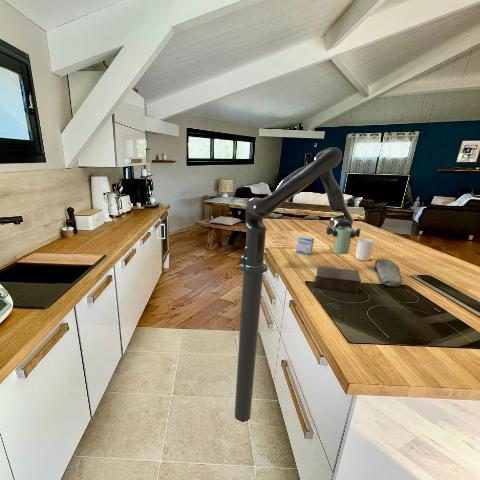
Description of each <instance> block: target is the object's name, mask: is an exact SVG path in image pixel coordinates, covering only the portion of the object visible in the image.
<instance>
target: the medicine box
mask: <svg viewBox="0 0 480 480" xmlns="http://www.w3.org/2000/svg"><path fill="white" fill-rule="evenodd" d="M314 242H315V238H314V237H313V238H312V237H307V236H306V237H305V236H299V237H298V238H297V244H296V250H295V253H296V254H301V255H309V256H310V255H312V253H313V249H314Z"/></svg>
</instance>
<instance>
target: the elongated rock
mask: <svg viewBox="0 0 480 480" xmlns="http://www.w3.org/2000/svg"><path fill="white" fill-rule="evenodd" d="M374 266H375V270H376V271H377V276H378V277H379V280H380V282H381V283H383V284H384V285H385V286H389V287H391V288H398V287H400V286H401V284H402V282H403V277H402V276H401V271H400V267H399V266H398V264H397V263H395V262H394V261H393V260H390V259H386V258H383V257H381V258H379V257H378V258H376V259H375V260H374Z"/></svg>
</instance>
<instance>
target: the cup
mask: <svg viewBox="0 0 480 480" xmlns="http://www.w3.org/2000/svg"><path fill="white" fill-rule="evenodd" d="M353 229H354V228H353ZM353 229H350V228H337V229H336V237H334V242H333V246H332V252H333V253H334V254H338V255H347V254H350V253H349V252H350V247H351V242H352V238H351V237H352V232H353Z"/></svg>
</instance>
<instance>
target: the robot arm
mask: <svg viewBox="0 0 480 480" xmlns="http://www.w3.org/2000/svg"><path fill="white" fill-rule="evenodd" d="M342 158H343V153H342V151H341V149H340V148H338V147H333V146H332V147H328V148H326V149H323V150H320V151H319V152H318V153H317V154H316V155H315V157H314V160H313V161H311V162H310V163H308V164H306V165H304V166H302V167H300V168H298V169H296V170H295V171H293V172H291V173H290V174H289V175H287V176H285V177H284V179H282V180H281V182H280V183H279V185H278V186H277V188H276V189H275V190H274V191H272V192H271V193H270V194H268V195H267V196H265V197H263V198H262V197H261V198H260V197H252V198H250V199H249V200H248V201H247V203H246V207H245V227H246V237H245V247H244V252H243V254H242V256H240V259H239V260H238V264H239V265H240V264H244V266H245V267H248V268H262V267H263V263H264V262H265V248H266V247H265V246H266V238H267V237H266V236H267V227H266V224H264V220H263V219H265V218H267V217H269V216H270V215H271V214H272V213H273V212H274V211H275V210H276V209H278V208H279V207H280V206H281V205H283V204H284V203H285V202H287V201H288V200H290V199H291V198H292V197H294V196H295V195H297V194H298V193H300V192H301V191H302V190H304V189H305V188H306V187H308V186H309V185H310V184H312V183H313V182H314V181H315V180H316V179H318V178H319V177H320V180H321V182H322V184H323V187H324V190H325V193H326V197H327V201H328V205H329V209H330V211H331V212H332V213H337V212H341V213H342V214H339V215H335V216H332V217H331V218H330V220H329V226H326V230H325V233H326V235H328V236H330V235H331V236H332V237H334V238H335V237H336V229H337V228H350V229H353V232H352V237H351V239H354V238H359V237H360V235H361V231H362V229H361V228H357V229H354V228H353V224H354V219H353V216H352V215H351V213H350V211H349V210H348V208H347V205H346V201H345V196H344V192H343V190H342V188H341V186H340V185H339V184H338V182H337V181H336V179H335V177H334V174H333V170H332V169H334V168H335V167H337V166H338V165H339V164H340V162H341V160H342Z"/></svg>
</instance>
